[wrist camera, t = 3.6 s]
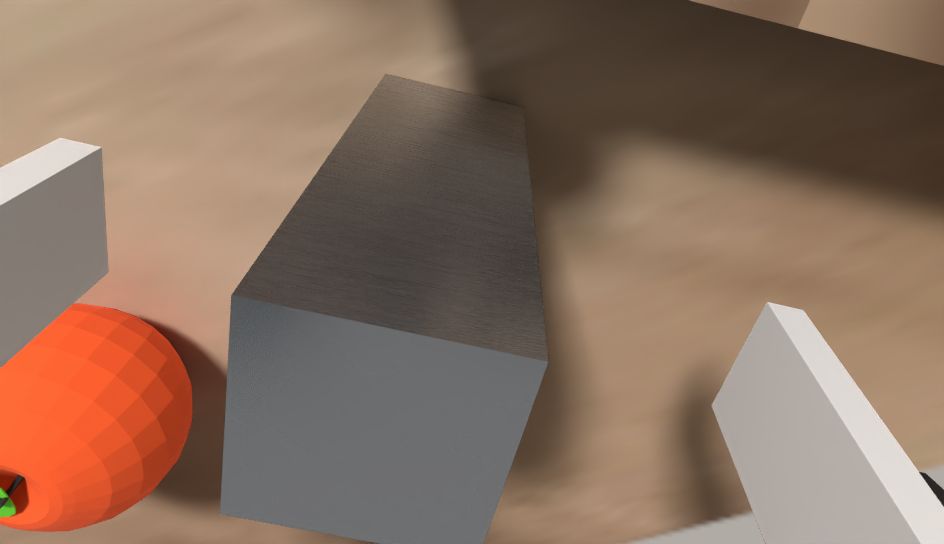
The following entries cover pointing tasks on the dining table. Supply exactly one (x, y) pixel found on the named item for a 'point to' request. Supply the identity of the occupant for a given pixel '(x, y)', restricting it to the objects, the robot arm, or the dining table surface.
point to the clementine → (89, 419)
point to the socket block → (858, 21)
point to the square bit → (391, 329)
